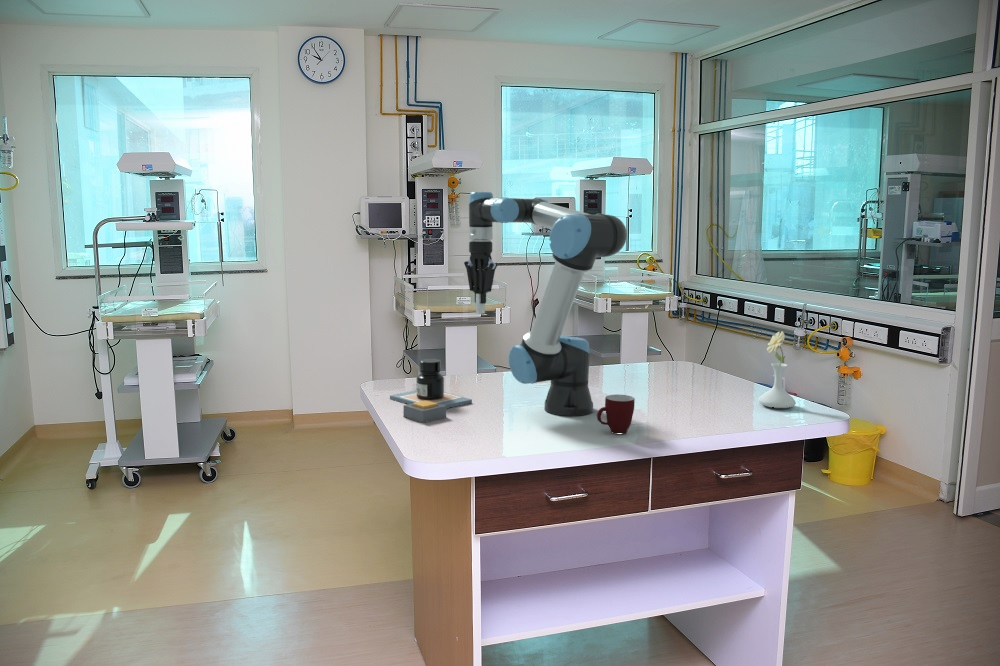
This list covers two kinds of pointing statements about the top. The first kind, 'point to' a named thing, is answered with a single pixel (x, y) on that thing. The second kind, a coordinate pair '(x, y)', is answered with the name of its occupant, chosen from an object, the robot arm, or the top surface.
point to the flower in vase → (777, 378)
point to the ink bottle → (430, 380)
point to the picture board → (446, 400)
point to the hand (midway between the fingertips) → (480, 313)
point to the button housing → (424, 412)
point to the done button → (424, 404)
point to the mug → (618, 412)
